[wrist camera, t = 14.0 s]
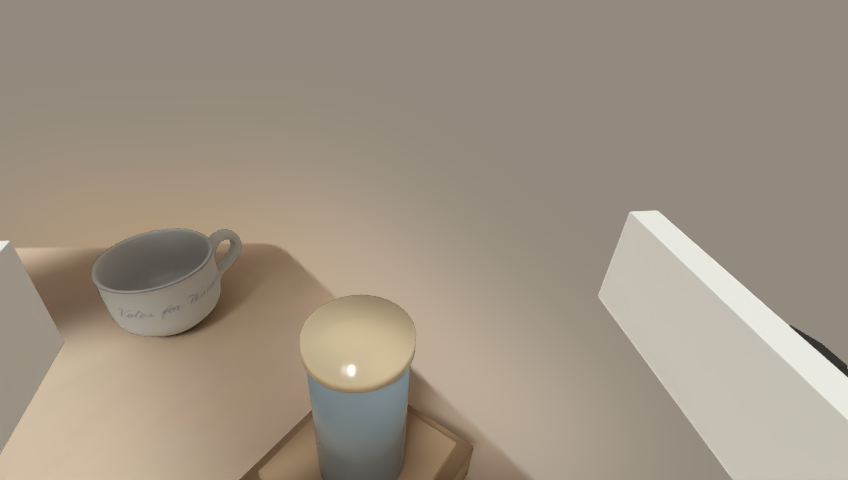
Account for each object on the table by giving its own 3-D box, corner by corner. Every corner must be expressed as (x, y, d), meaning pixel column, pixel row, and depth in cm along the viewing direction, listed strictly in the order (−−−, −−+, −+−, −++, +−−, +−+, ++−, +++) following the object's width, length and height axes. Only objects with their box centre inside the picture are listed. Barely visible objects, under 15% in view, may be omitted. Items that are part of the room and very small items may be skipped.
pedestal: (246, 509, 34) (236, 474, 32) (354, 398, 43) (353, 363, 40) (373, 625, 29) (374, 596, 26) (467, 473, 38) (474, 440, 35)
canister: (296, 466, 32) (274, 341, 25) (357, 403, 37) (353, 281, 29) (367, 524, 30) (365, 403, 22) (423, 448, 34) (437, 326, 27)
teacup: (125, 369, 44) (97, 307, 39) (107, 303, 51) (81, 243, 46) (269, 313, 51) (260, 255, 46) (236, 262, 58) (225, 207, 53)
